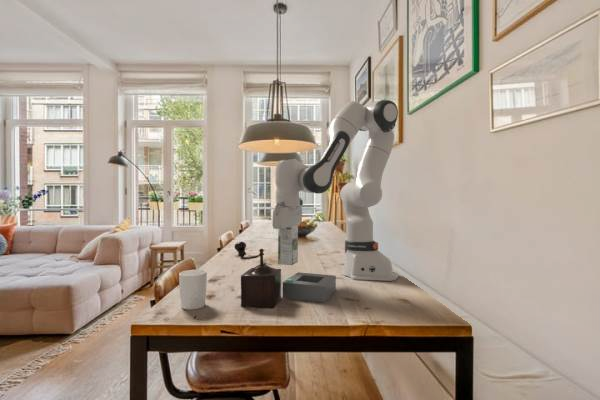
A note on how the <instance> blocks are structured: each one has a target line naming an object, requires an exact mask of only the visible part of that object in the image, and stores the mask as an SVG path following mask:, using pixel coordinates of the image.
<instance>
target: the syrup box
mask: <svg viewBox="0 0 600 400" xmlns="http://www.w3.org/2000/svg"><path fill="white" fill-rule="evenodd" d="M298 225H299V224H298ZM298 225H292V226H289V227H287V230H286V234H287V240H282V237H281V233H280V229H277V230H278V235H277V238H278V241H277V243H278V244H277V245H278V246H277V251H278V252H277V264H278V265H281V266H282V265H284V266H293V265H294V264H296V263H298V262H299V261H298V256H299V255H298V252H299V251H298V250H299V238H298V237H299V235H298V234H299V233H298V232H299V230H298V229H299V226H298Z"/></svg>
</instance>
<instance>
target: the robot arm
mask: <svg viewBox="0 0 600 400" xmlns="http://www.w3.org/2000/svg"><path fill="white" fill-rule="evenodd" d="M398 116H399V109H398V105H397V104H396V103H395V102H394V101H393V100H390V99H382V100H377V101H373V102H369V103H366V104H364V105H363V104H362V103H360V102H358V101H356V100H355V101H354V100H351V101H348V102H347V103H345V104H344V105H343V106H342V107H341V109H339V110H338V112H337V113H336V115H335V116H334V117H333V118H332V120H331V122H330V123H329V125H328V127H327V130H326V132H325V137H326V140H327V141H328V142H329V144H328V145H327V148H326V149H325V151H324V153H323V154H322V156H321V157H320V159H319V161H318V162H317V163H315V164H313V165H311V166H309V165H306V164H303V163H302V162H300V160H298V159H297V158H296V157H289V158H284V159H281V160H279V161H278V162H276V167H275V174H274V175H275V176H274V177H275V179H274V182H275V185H276V191H275V206H274V208H273V211H272V228H273V229H275V230H278V229H280V233H281V237H282V240H287V234H286V230H287V227H289V226H292V225H301V224H302V221H303V208H302V207H303V206H304V200H302V198H301V197H300V192H303V193H311V194H312V193H313V194H323V193H325V192H327V191H328V190H329V189H330V187H331V186H332V184H333V179H334V176H335V175H334V174H335V170H336V169H337V166H338V165H339V163H340V162H341V160H342V158H343V156H344V155H345V153H346V151H347V149H348V147H349V146H350V144H351V143H352V142H353V140H354V138H356V136H357V135H358V133H359V131H360V132H366V131H368V139H367V140H366V142H365V145H364V148H363V150H362V153H361V154H360V157H359V159H358V162H357V172H356V178H355V180H354V181H350V182H348V183H346V184H345V185H343V186H342V187H341V189H340V191H339V196H340V198H339V199H340V200H341V202H342V207H343V211H344V217H345V229H346V230H345V236H346V237H345V240H344V253H345V258H344V264H343V269H342V271H341V272H342V275H343V276H345V277H348V278H351V279H353V280H361V281H362V280H363V281H381V282H383V281H385V282H393V281H396V280H398V278H399V273H398V272H397V271H395V270H393V266H392V261H391V260H390V258H389V257H387V256H386V255H384V254H383V252H381V251H380V250H379V242H377V241H375V240H374V223H373V222H374V221H373V219H372V217H371V215H370V212H369V208H371V207H374V206H375V205H378V204H379V203H380V202H381V200H382V197H383V190H382V188H381V187H382V178H383V174H384V171H385V168H386V166H387V164H388V163H387V162H388V161H389V159H390V156H391V153H392V149H393V145H394V142H395V133H394V132H393V130H394V128H395V126H396V123H397V121H398Z"/></svg>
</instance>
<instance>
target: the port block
mask: <svg viewBox="0 0 600 400" xmlns="http://www.w3.org/2000/svg"><path fill="white" fill-rule="evenodd" d="M336 279H337V277H336V275H331V274H322V273H321V274H319V273H311V272H310V273H309V272H296V273H295V274H293V275H291V276H290V277H288V278H287V279H285V280H284V281H282V298H283V299H289V300H290V299H291V300H298V301H306V302H307V301H308V302H314V303H324V304H325V303H326V302H327V301H328V300H329V298H330V297H331V296H332V295H333V294H334V293H335V291H337V290H336V289H337V287H336V286H337V281H336Z"/></svg>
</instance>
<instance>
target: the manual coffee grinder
mask: <svg viewBox="0 0 600 400" xmlns="http://www.w3.org/2000/svg"><path fill="white" fill-rule="evenodd" d="M246 248H247V244H246V242H245V241H238V242H236V243H235V244H234V249H235V250H236V252H237V253H238V254H237V256H238V257H240V260H243V261H244V260H245V261H246V260H251V259H253V260H254V259H257V258H259V262H260V263H259V264H258V265H256V266H254V267H250V269H248V270H246V271H245V272H244V273H243V274H241V275H240V306H241V307H243V308H256V309H275V307H277V305H278V304H279V303H280V301H281V299H282V269H281V268H275V267H271V266H269V265H267V263H266V262H264V256H265V253H264V249H263V248H260V249H259V253H258V254H256V255H249V256H246V255H247V253H246Z"/></svg>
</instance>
